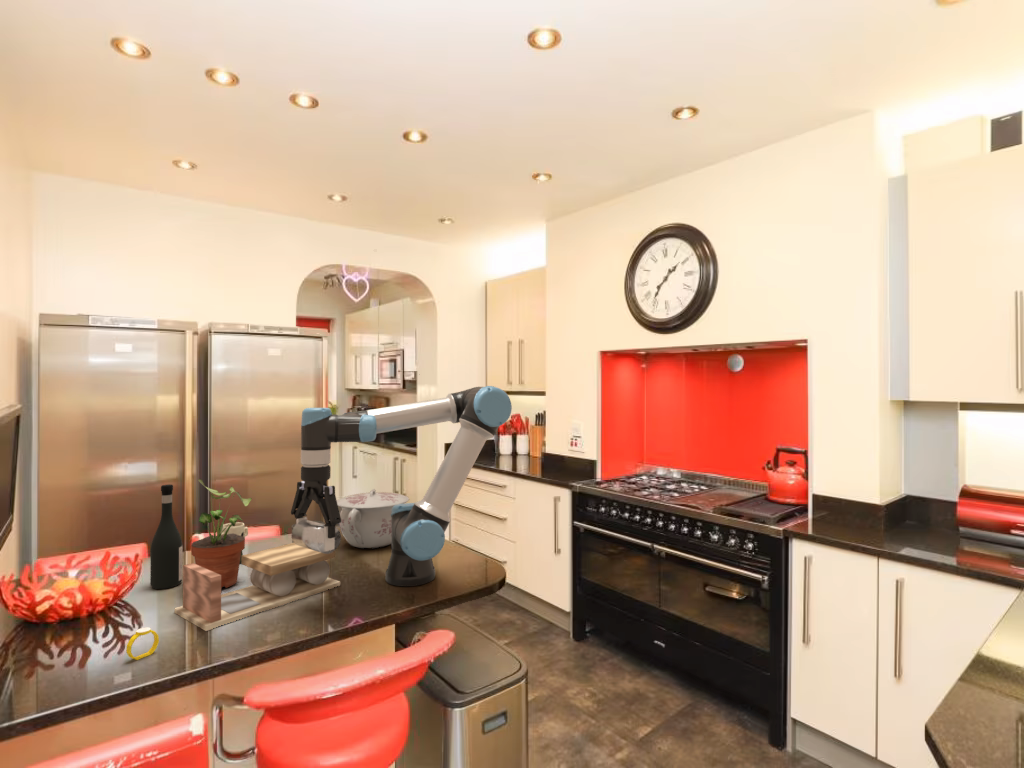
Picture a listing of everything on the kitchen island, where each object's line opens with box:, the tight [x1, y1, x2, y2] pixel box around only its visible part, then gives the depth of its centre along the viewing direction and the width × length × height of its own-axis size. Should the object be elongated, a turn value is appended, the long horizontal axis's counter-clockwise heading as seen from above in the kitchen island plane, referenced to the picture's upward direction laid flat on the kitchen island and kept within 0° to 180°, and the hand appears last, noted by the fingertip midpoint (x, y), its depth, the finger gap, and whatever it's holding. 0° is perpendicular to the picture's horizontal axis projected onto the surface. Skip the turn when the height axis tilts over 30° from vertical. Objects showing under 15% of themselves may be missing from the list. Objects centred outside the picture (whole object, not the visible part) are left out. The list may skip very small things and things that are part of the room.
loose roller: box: [291, 519, 342, 554], centre depth 145 cm, size 12×7×7 cm, turn 54°
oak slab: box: [241, 542, 336, 576], centre depth 158 cm, size 16×20×2 cm
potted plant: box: [190, 478, 253, 589], centre depth 162 cm, size 16×15×35 cm
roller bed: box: [174, 560, 341, 632], centre depth 151 cm, size 18×38×12 cm, turn 143°
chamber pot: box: [336, 488, 410, 549], centre depth 205 cm, size 28×28×21 cm
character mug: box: [221, 521, 249, 563], centre depth 182 cm, size 11×7×13 cm, turn 151°
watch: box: [125, 627, 160, 661], centre depth 119 cm, size 6×3×6 cm, turn 151°
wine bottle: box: [149, 484, 183, 590], centre depth 162 cm, size 8×8×30 cm
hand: (314, 545), depth 145 cm, fingers closed on loose roller, 12 cm apart
